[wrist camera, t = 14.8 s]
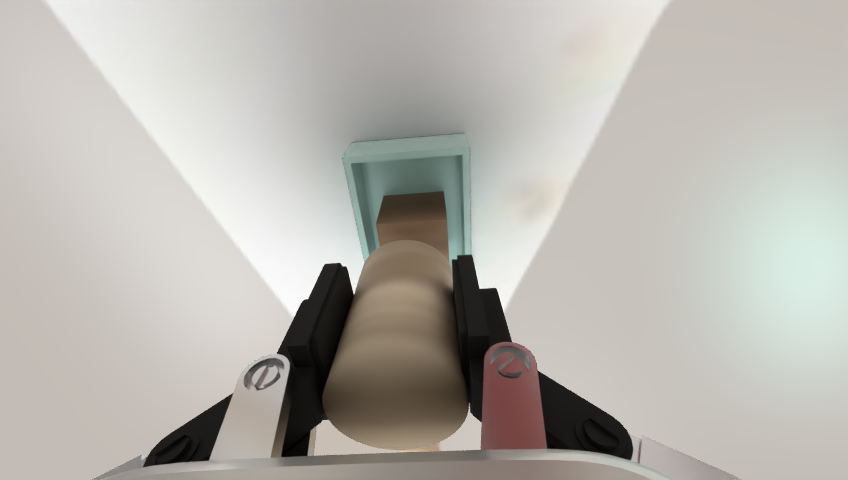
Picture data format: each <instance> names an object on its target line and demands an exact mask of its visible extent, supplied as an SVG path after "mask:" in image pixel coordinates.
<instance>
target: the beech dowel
mask: <svg viewBox="0 0 848 480" xmlns="http://www.w3.org/2000/svg"><path fill="white" fill-rule="evenodd" d="M322 402H323V408H324V411H325V414H326V416H327V418H328V419H329V420H330V422H331V423H332V424H333V425H334V426H335V427H336V428H337V429H338V430H339V431H340V432H342V433H343V434H344V435H346V436H348V437H349V438H351V439H353V440H355V441H357V442H360V443H362V444H365V445H368V446H372V447H377V448H382V449H390V450H409V449H417V448H423V447H426V446H430V445H433V444H436V443H438V442H440V441H442V440H444V439H446V438H448V437H449V436H451V435H452V434H453V433H455V432H456V431H457V430H458V429H459V428H460V427H461V425H462V424H463V422H464V421H465V419H466V417H467V413H468V409H469V401H468V393H467V385H466V380H465V377H464V375H463V373H462V367H461V358H460V348H459V339H458V330H457V321H456V312H455V303H454V293H453V277H452V267H451V265H450V263H449V262H448V260H447V259H446V257H445V256H444V255H443V254H442V253H441V252H440V251H438V250H437V249H435V248H434V247H432V246H430V245H428V244H426V243H423V242H419V241H413V240H399V241H394V242H390V243H387V244H385V245H383V246H381V247H379V248H377V249H376V250H375V251H374V252H373V253H371V254H370V256H369V257H368V258H367V260H366V261H365V263H364V266H363V269H362V272H361V275H360V278H359V281H358V284H357V287H356V291H355V294H354V297H353V300H352V303H351V306H350V310H349V313H348V316H347V319H346V322H345V325H344V328H343V332H342V335H341V338H340V341H339V344H338V347H337V350H336V354H335V357H334V360H333V363H332V366H331V369H330V373H329V376H328V379H327V382H326V385H325V388H324V391H323V397H322Z"/></svg>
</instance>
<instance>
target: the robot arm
mask: <svg viewBox="0 0 848 480" xmlns="http://www.w3.org/2000/svg"><path fill="white" fill-rule="evenodd" d="M452 277H453V293H454V303H455V312H456V321H457V330H458V339H459V348H460V358H461V367H462V373H463V375H464V377H465V380H466V385H467V393H468V401H469V403H470V412H471V413H472V414H473V416H474V417H476V418H477V419H478V420H479V421H480V422H482V430H481V450H469V451H468V450H466V451H435V452H404V453H379V454H350V455H326V456H325V455H324V456H314V448H315V438H316V426H317V425H318V424H319V423H321V422H322V420H329V419H328V418H327V416H326V414H325V411H324V408H323V402H322V397H323V391H324V388H325V385H326V382H327V379H328V376H329V373H330V369H331V366H332V363H333V360H334V357H335V354H336V350H337V347H338V344H339V341H340V338H341V335H342V332H343V328H344V325H345V322H346V319H347V316H348V313H349V310H350V306H351V303H352V300H353V297H354V294H353V290H352V286H351V282H350V278H349V274H348V270H347V267H346V266H345V267H342V265H341V263H332V264H325V265H324V267H323V269H322V271H321V273H320V275H319V277H318V279H317V282H316V284H315V286H314V288H313V290H312V292H311V294H310V297H309V299H306V300H304V301H303V302H302V303H301V305H300V307H299V309H298V311H297V313H296V315H295V317H294V319H293V321H292V323H291V325H290V327H289V329H288V331H287V334H286V336H285V338H284V340H283V342H282V344H281V346H280V348H279V350H278V352H277V354H270V355H267V356H263V357H261V358H259V359H257V360H255V361H254V362H252V363H251V364H250V365H248V366H247V367H246V368H245V370H244V371H243V372H242V373H241V375H240V377H239V379H238V382H237V385H236V388H235V390H234V393H233V394H231V395H229V396H228V397H226V398H225V399H223V400H222V401H220V402H219V403H217V404H215V405H214V406H212V407H211V408H209V409H208V410H206V411H204V412H203V413H201V414H200V415H198V416H197V417H195V418H194V419H192V420H191V421H189V422H187V423H186V424H184V425H183V426H181V427H180V428H178V429H177V430H175V431H173V432H172V433H170V434H169V435H168V436H166V437H165V438H164V439H162V440H161V441H160V442H159V443H158V444H157V445H156V446H155V447H154V448H153V449H152V451H151V452H150V454H149V455H148V457H146V458H144V457H143V455H140V456H138V457H136V458H134V459H132V460H130V461H128V462H126V463H124V464H122V465H120V466H118V467H116V468H114V469H112V470H111V471H109V472H106V473H104V474H103V475H100V476H98V477H96V478H94V479H92V480H740V479H739V478H737V477H735V476H733V475H731V474H729V473H726V472H724V471H722V470H720V469H718V468H715V467H713V466H711V465H708V464H706V463H704V462H701V461H699V460H697V459H695V458H693V457H690V456H688V455H686V454H683V453H681V452H679V451H677V450H674V449H672V448H670V447H667V446H665V445H663V444H661V443H658V442H656V441H654V440H652V439H649V438H647V437H645V436H642V438H641V439H639V438H637V437H635V436H632V435H630V434H628V432H627V430H626V429H625V428H624V427H623V425H622V424H621V423H620V422H619V421H617V420H616V419H615V418H614V417H612V416H611V415H609V414H607V413H606V412H604V411H603V410H601V409H599V408H598V407H596V406H595V405H593V404H591V403H590V402H588V401H586V400H585V399H583V398H581V397H580V396H578V395H577V394H575V393H573V392H572V391H570V390H568V389H567V388H565V387H564V386H562V385H560V384H558V383H557V382H555V381H554V380H552V379H550V378H549V377H547V376H546V375H544V374H542V373H540V372H539V371H538V370H537V363H536V360H535V357H534V356H533V354H532V353H531V352H530V351H529V350H528V349H527V348H525V347H524V346H522V345H520V344H517V343H513V342H512V341H511V337H510V333H509V330H508V326H507V323H506V320H505V316H504V312H503V309H502V306H501V302H500V299H499V295H498V292H497V289H496V288H488V289H479V285H478V280H477V276H476V271H475V266H474V262H473V257H472V254H470V255H457V259H452Z"/></svg>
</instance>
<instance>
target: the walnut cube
mask: <svg viewBox="0 0 848 480" xmlns="http://www.w3.org/2000/svg"><path fill="white" fill-rule="evenodd" d="M376 229H377V234H378V240H379V246H380V247H381V246H383V245H385V244H387V243H390V242H394V241H399V240H413V241H419V242H423V243H426V244H428V245H430V246H432V247H434V248H435V249H437V250H438V251H440V252H441V253H442V254H443V255H444V256H445V257H446V259H447V260H448V262H449V245H448V226H447V214H446V205H445V197H444V191H440V192H427V193H413V194H400V195H386V196H383V199H382V203H381V207H380V211H379V214H378V218H377V222H376Z"/></svg>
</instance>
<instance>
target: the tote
mask: <svg viewBox="0 0 848 480" xmlns="http://www.w3.org/2000/svg"><path fill="white" fill-rule="evenodd" d="M342 159H343V164H344V168H345V173H346V178H347V182H348V187H349V192H350V197H351V201H352V206H353V211H354V215H355V220H356V225H357V230H358V234H359V239H360V244H361V248H362V253H363V258H364V262H365V261H366V260H367V258H368V257H369V256H370V254H371V253H373V252H374V251H375V250H376V249H377V248H379V247H380V246H379V240H378V234H377V229H376V222H377V218H378V214H379V211H380V207H381V203H382V199H383V196H386V195H400V194H413V193H427V192H440V191H444V197H445V205H446V214H447V226H448V245H449V263H450V265H451V267H452V259H457V255H470V254H471V202H470V146H469V143H468V141H467V138H466V136H465V134H464V133H462V134H449V135H437V136H425V137H413V138H401V139H389V140H377V141H365V142H353V143H352V144H351V145H350V147H349V148H348V149H347V151H346V152H345V154H344V155H343V156H342Z"/></svg>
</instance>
